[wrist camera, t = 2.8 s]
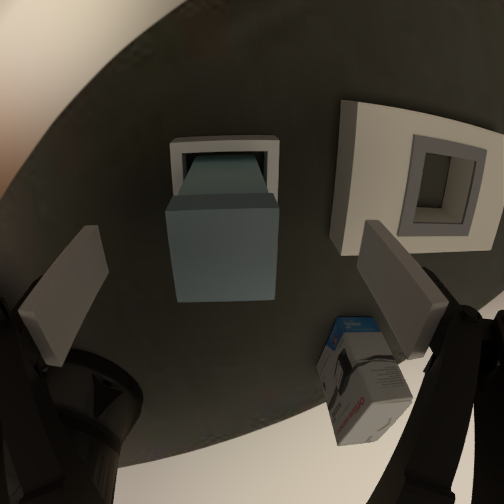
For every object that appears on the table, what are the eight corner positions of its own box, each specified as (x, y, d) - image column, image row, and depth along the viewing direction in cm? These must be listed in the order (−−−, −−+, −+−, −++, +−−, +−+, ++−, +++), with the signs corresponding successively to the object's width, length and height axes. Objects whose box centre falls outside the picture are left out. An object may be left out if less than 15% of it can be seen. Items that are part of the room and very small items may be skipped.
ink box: (336, 314, 32) (372, 403, 22) (375, 316, 33) (416, 397, 23) (313, 366, 36) (335, 448, 26) (349, 366, 37) (376, 442, 27)
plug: (197, 211, 26) (177, 302, 15) (194, 154, 23) (165, 211, 13) (255, 209, 26) (274, 299, 15) (256, 152, 24) (279, 207, 13)
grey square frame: (182, 227, 26) (178, 240, 24) (175, 137, 22) (169, 143, 20) (271, 224, 27) (275, 237, 24) (274, 135, 23) (279, 140, 21)
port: (328, 236, 28) (342, 257, 24) (341, 99, 22) (359, 102, 18) (472, 235, 29) (492, 251, 25) (494, 131, 23) (518, 140, 19)
